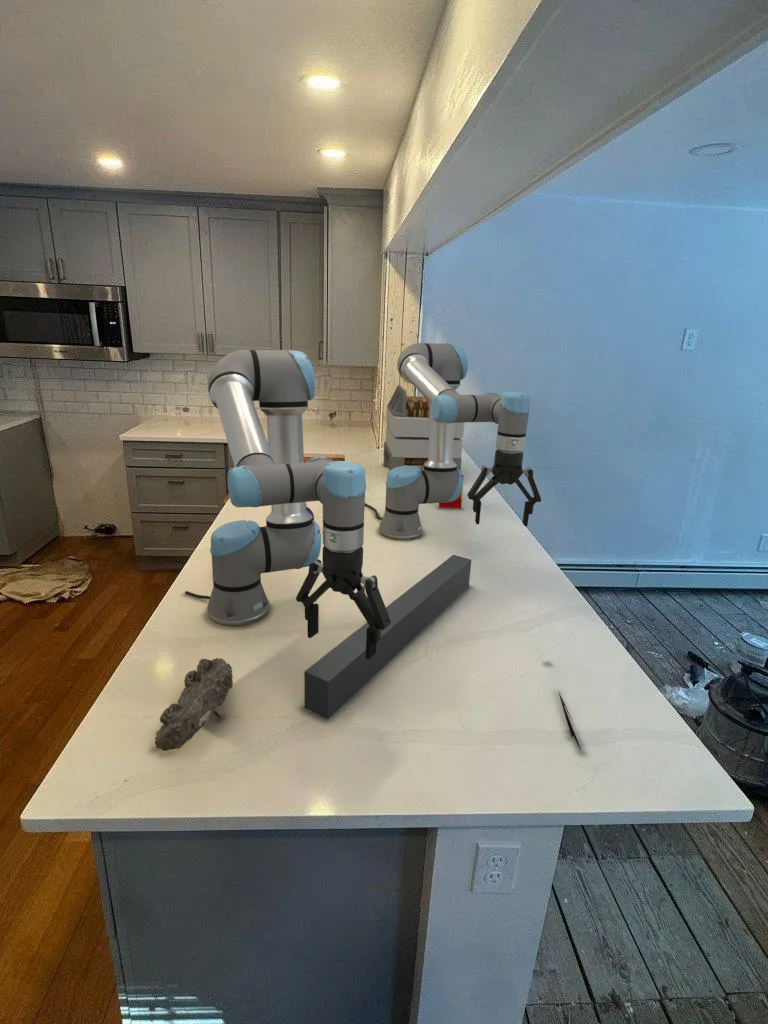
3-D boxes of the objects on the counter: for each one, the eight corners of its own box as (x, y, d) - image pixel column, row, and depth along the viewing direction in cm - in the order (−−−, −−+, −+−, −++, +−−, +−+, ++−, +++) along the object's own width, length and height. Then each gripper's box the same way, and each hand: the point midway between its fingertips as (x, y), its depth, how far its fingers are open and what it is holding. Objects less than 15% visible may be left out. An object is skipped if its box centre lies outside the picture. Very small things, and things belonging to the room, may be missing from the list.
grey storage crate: (382, 463, 289) (386, 382, 275) (445, 464, 293) (451, 384, 279) (390, 482, 257) (394, 392, 243) (460, 483, 261) (468, 394, 247)
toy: (456, 466, 252) (467, 476, 223) (454, 496, 255) (465, 509, 225) (428, 465, 252) (437, 475, 222) (427, 495, 254) (435, 508, 225)
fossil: (182, 659, 118) (233, 627, 113) (214, 689, 120) (265, 659, 115) (130, 744, 98) (189, 710, 93) (170, 778, 101) (229, 746, 96)
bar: (450, 581, 166) (453, 554, 164) (468, 586, 164) (471, 559, 161) (304, 708, 111) (304, 671, 109) (327, 719, 109) (328, 681, 106)
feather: (547, 667, 130) (553, 661, 129) (581, 755, 103) (588, 747, 102) (541, 664, 129) (547, 657, 129) (573, 750, 103) (580, 743, 102)
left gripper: (276, 537, 107) (279, 634, 114) (392, 569, 96) (387, 675, 103) (300, 525, 113) (301, 618, 120) (412, 554, 102) (406, 655, 109)
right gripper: (465, 451, 150) (458, 526, 157) (559, 455, 150) (548, 530, 157) (461, 445, 157) (455, 517, 164) (551, 449, 157) (541, 520, 164)
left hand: (341, 645), depth 112 cm, fingers open, 13 cm apart
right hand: (500, 523), depth 160 cm, fingers open, 13 cm apart
